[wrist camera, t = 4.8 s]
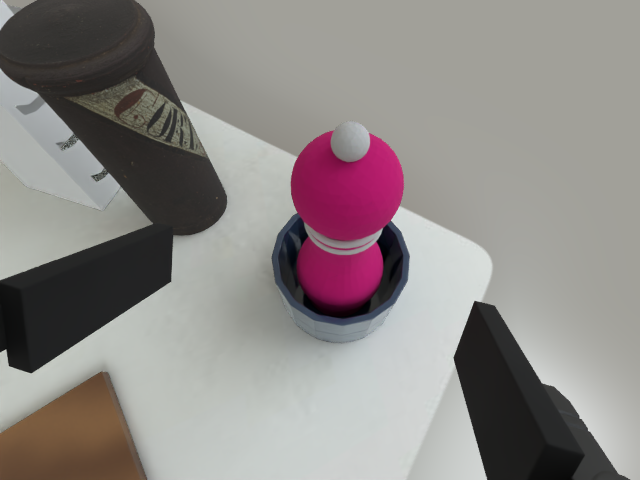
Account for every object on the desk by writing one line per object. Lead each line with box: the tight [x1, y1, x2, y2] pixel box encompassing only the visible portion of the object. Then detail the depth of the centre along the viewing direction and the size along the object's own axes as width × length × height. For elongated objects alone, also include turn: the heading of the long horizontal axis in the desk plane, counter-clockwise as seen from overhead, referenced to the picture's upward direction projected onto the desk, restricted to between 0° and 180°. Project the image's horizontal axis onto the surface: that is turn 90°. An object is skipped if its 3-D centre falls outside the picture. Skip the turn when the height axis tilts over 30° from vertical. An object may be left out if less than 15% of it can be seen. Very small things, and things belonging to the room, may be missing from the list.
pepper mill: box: [291, 121, 404, 317], centre depth 23 cm, size 7×7×20 cm
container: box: [0, 0, 227, 235], centre depth 28 cm, size 9×9×20 cm
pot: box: [272, 213, 410, 343], centre depth 30 cm, size 11×11×7 cm
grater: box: [0, 0, 121, 211], centre depth 31 cm, size 10×10×20 cm
